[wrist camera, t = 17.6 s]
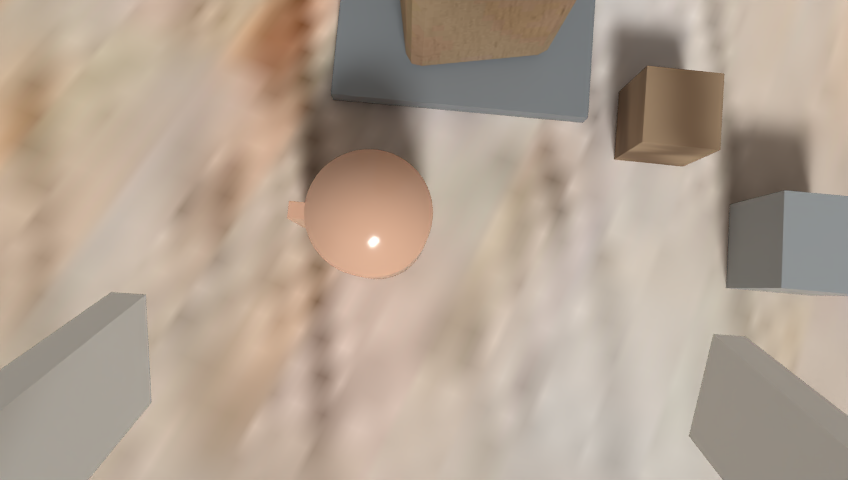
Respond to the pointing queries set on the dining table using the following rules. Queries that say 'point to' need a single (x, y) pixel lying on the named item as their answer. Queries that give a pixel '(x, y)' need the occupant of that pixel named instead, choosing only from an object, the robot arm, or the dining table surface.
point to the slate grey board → (462, 69)
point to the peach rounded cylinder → (367, 213)
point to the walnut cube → (669, 116)
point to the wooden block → (479, 28)
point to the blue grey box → (789, 244)
